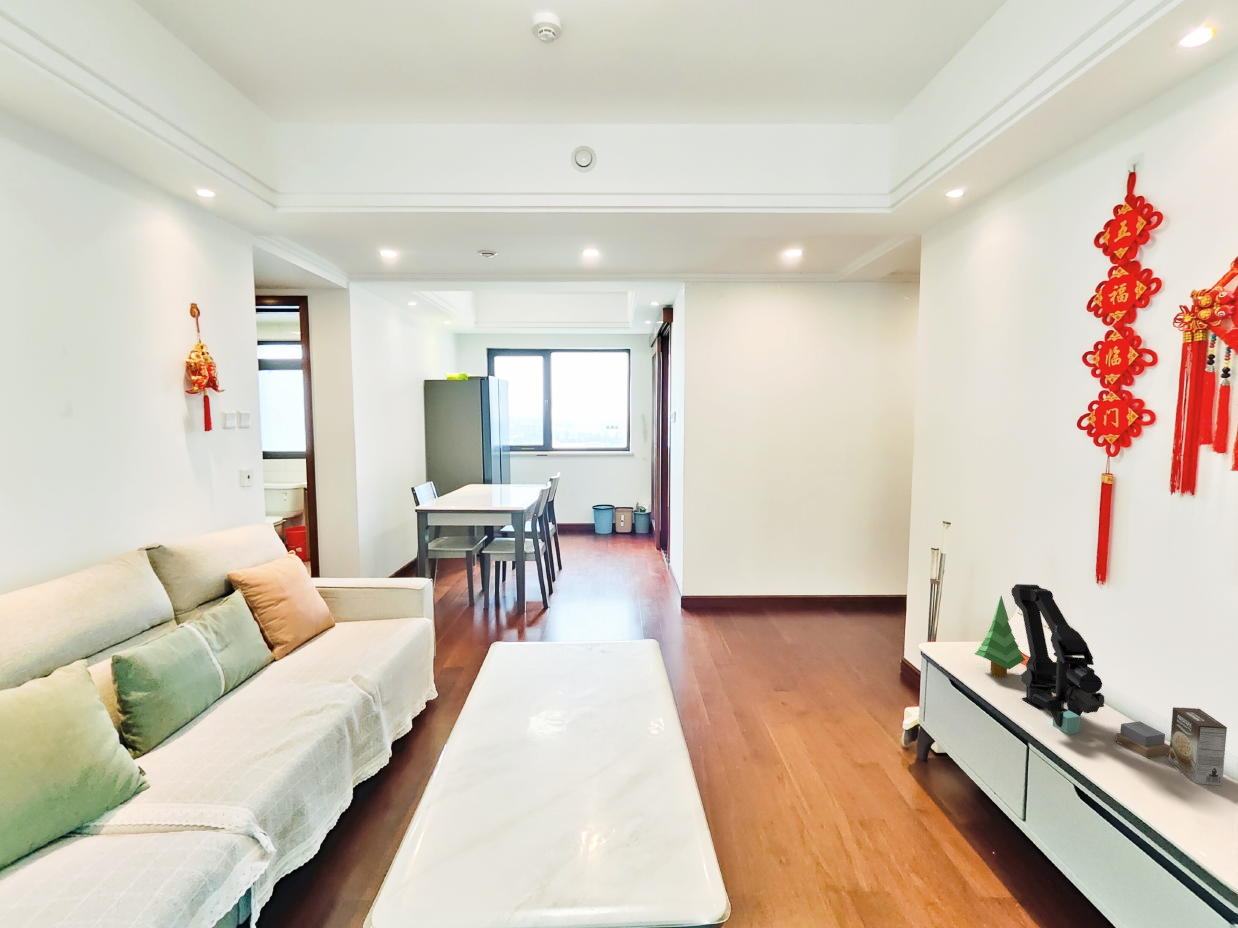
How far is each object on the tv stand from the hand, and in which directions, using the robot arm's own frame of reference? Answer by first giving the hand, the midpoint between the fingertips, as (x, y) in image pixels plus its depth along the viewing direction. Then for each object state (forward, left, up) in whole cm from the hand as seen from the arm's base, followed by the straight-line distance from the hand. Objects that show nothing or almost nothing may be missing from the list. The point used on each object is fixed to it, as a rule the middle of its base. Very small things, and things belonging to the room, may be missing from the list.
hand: (1066, 725), depth 167 cm
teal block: (0, 0, -1) cm, 1 cm away
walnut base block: (+12, +12, -2) cm, 17 cm away
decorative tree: (-34, +9, -1) cm, 35 cm away
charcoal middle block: (+12, +12, +1) cm, 17 cm away
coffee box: (+24, +13, -1) cm, 27 cm away
